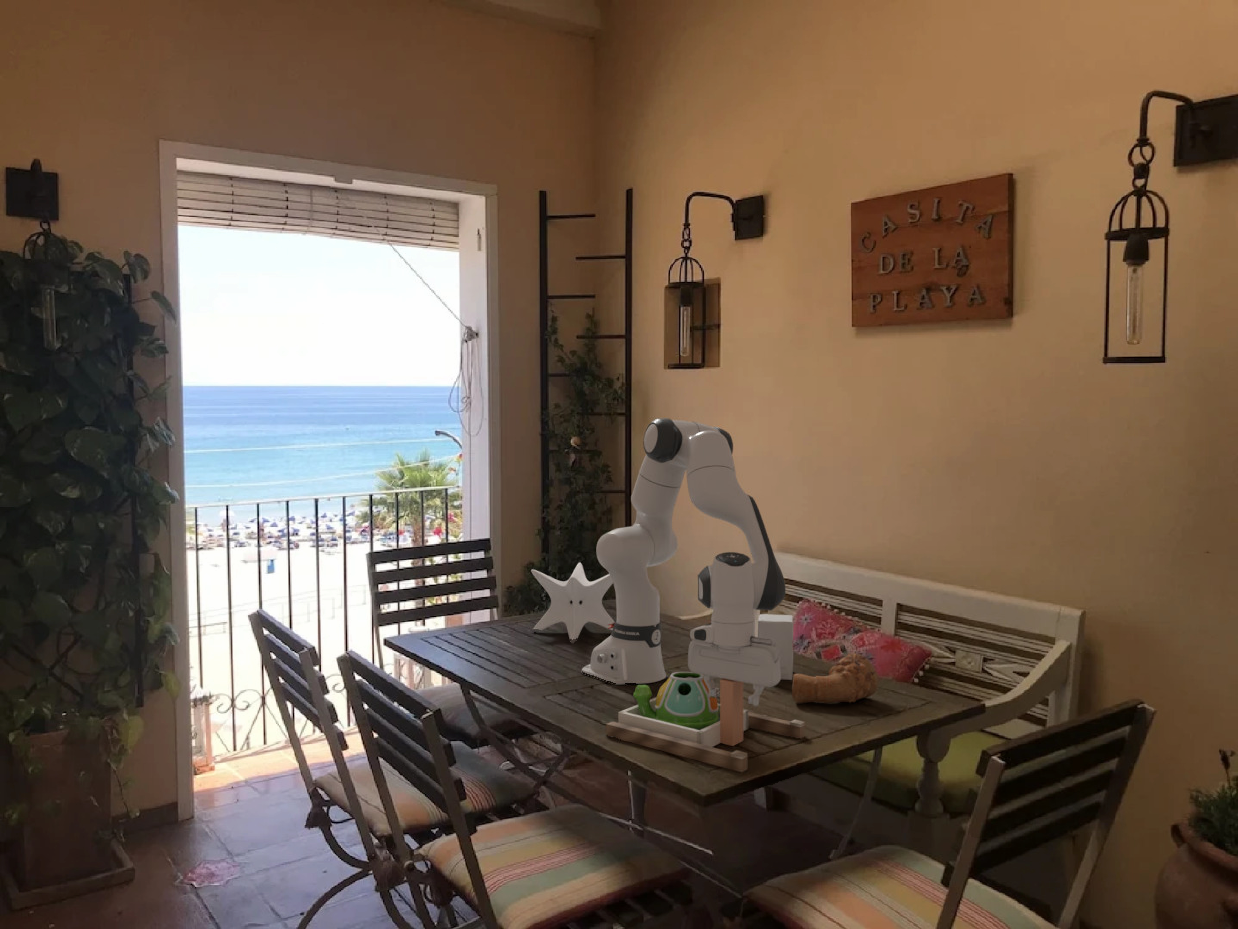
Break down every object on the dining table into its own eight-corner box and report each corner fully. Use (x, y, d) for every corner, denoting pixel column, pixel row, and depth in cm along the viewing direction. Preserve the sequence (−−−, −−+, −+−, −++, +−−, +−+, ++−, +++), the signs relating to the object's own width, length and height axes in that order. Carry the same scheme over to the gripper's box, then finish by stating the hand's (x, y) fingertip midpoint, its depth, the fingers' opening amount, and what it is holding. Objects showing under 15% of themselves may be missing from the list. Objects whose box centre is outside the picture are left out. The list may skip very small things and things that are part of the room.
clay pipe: (874, 727, 211) (880, 690, 224) (875, 687, 207) (880, 651, 220) (791, 716, 217) (801, 681, 230) (790, 677, 213) (800, 643, 226)
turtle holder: (638, 718, 207) (638, 665, 206) (720, 722, 204) (720, 668, 203) (629, 737, 194) (629, 680, 194) (716, 741, 191) (716, 684, 191)
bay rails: (606, 735, 195) (606, 721, 195) (675, 706, 215) (675, 693, 215) (741, 772, 175) (741, 756, 174) (804, 736, 194) (804, 721, 194)
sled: (618, 730, 198) (618, 670, 197) (668, 709, 212) (668, 653, 211) (713, 756, 183) (713, 690, 182) (760, 731, 197) (760, 670, 196)
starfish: (531, 633, 290) (530, 569, 289) (580, 623, 303) (579, 562, 302) (572, 644, 275) (572, 577, 274) (622, 633, 288) (621, 569, 287)
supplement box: (792, 680, 235) (793, 622, 235) (757, 679, 237) (757, 620, 236) (793, 671, 244) (793, 614, 244) (758, 669, 246) (759, 613, 245)
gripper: (786, 637, 185) (786, 706, 186) (700, 624, 198) (700, 689, 199) (770, 643, 181) (771, 714, 181) (683, 630, 193) (684, 696, 194)
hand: (733, 701), depth 190 cm, fingers open, 8 cm apart
